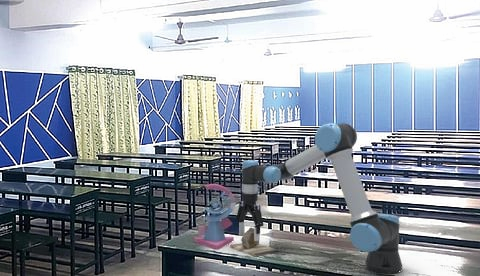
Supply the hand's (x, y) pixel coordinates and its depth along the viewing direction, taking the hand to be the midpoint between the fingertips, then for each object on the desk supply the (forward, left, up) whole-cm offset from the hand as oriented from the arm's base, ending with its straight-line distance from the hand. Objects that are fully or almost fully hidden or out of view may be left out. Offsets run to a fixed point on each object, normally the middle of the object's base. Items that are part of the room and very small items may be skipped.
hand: (249, 238), depth 243 cm
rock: (0, 0, -4) cm, 4 cm away
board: (-3, 0, -5) cm, 6 cm away
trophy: (+18, +8, -5) cm, 20 cm away
